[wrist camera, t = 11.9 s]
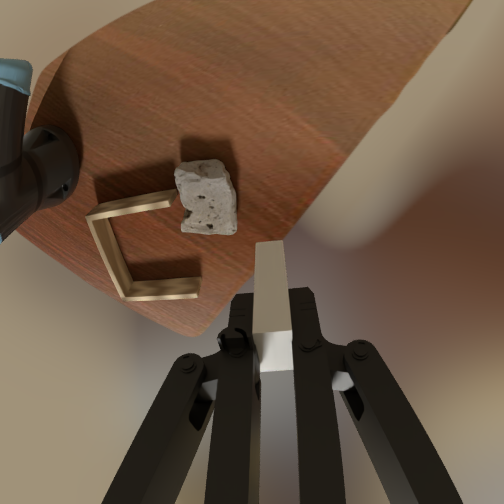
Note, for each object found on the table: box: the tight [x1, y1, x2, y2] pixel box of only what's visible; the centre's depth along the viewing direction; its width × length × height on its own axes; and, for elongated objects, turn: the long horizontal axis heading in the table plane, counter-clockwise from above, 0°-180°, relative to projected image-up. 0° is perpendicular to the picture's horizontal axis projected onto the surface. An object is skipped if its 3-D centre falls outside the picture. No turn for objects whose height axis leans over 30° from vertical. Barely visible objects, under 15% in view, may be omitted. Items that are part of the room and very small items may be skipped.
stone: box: [174, 159, 237, 235], centre depth 44 cm, size 13×6×10 cm
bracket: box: [85, 189, 202, 301], centre depth 49 cm, size 16×19×5 cm
